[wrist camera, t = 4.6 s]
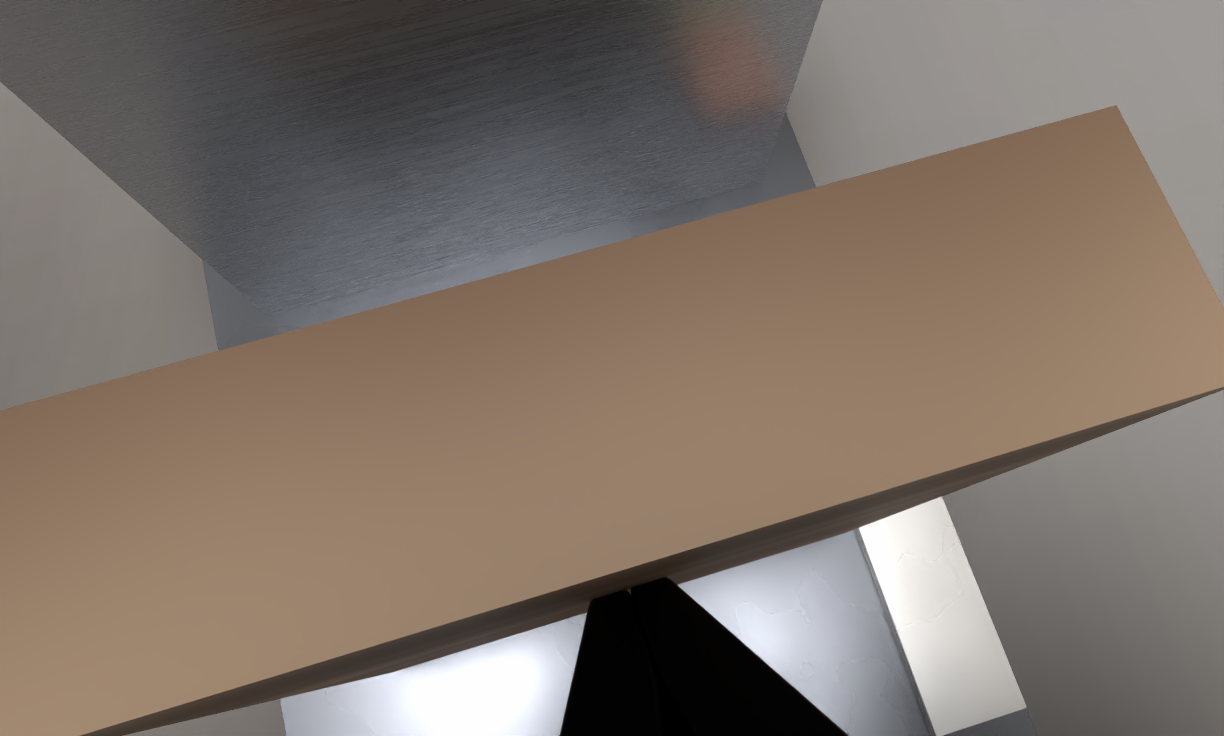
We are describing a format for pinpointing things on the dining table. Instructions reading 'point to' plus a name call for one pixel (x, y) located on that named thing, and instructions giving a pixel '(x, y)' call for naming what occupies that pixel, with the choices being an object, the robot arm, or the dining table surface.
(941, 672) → the grey piece
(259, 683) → the brown wooden flat block
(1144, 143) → the dining table surface
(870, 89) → the dining table surface
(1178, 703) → the dining table surface
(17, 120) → the dining table surface
